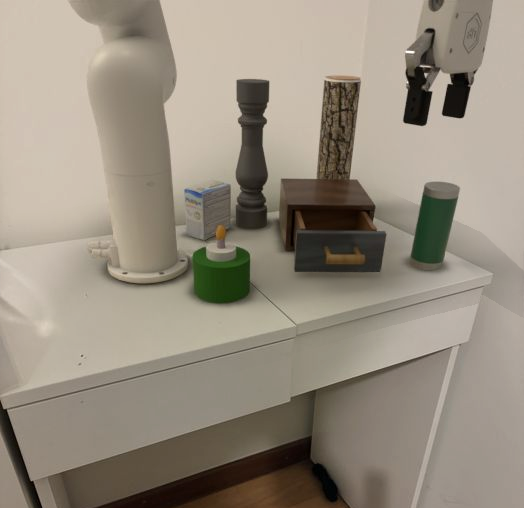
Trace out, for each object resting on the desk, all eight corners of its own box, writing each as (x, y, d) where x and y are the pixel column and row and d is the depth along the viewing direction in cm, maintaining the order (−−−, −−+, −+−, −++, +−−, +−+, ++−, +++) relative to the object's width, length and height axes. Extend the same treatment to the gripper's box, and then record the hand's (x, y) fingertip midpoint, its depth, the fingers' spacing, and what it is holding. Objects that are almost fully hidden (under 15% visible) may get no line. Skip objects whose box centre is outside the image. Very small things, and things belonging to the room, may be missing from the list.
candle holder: (238, 217, 104) (238, 78, 91) (268, 219, 104) (273, 79, 90) (232, 227, 99) (231, 81, 85) (264, 230, 98) (268, 83, 85)
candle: (192, 303, 73) (189, 236, 68) (195, 278, 80) (192, 215, 75) (251, 303, 74) (252, 236, 68) (248, 278, 81) (249, 215, 75)
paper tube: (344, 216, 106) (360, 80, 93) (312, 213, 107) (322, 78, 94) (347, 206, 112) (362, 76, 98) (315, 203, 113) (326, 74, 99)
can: (414, 270, 85) (430, 190, 77) (405, 257, 89) (420, 181, 82) (446, 270, 85) (465, 191, 78) (436, 257, 89) (453, 181, 82)
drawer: (388, 286, 77) (395, 246, 74) (297, 286, 77) (300, 245, 73) (361, 238, 93) (366, 203, 90) (286, 237, 93) (288, 202, 89)
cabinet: (368, 251, 91) (375, 205, 86) (285, 251, 90) (287, 204, 86) (352, 221, 104) (357, 179, 99) (278, 220, 103) (280, 178, 99)
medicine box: (213, 224, 101) (212, 178, 96) (231, 229, 98) (231, 183, 94) (185, 235, 95) (183, 188, 90) (204, 241, 93) (202, 193, 88)
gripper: (457, -47, 53) (424, 132, 62) (528, -34, 63) (490, 118, 72) (395, -44, 57) (373, 123, 67) (470, -32, 67) (442, 110, 77)
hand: (434, 120), depth 69 cm, fingers open, 9 cm apart
